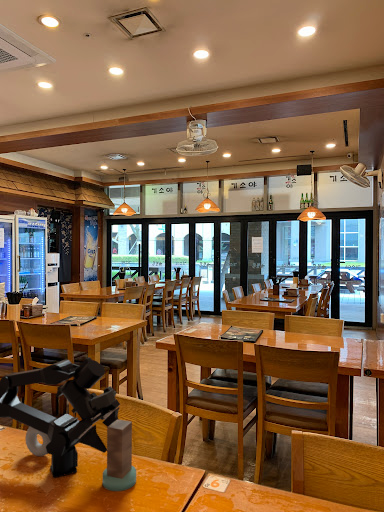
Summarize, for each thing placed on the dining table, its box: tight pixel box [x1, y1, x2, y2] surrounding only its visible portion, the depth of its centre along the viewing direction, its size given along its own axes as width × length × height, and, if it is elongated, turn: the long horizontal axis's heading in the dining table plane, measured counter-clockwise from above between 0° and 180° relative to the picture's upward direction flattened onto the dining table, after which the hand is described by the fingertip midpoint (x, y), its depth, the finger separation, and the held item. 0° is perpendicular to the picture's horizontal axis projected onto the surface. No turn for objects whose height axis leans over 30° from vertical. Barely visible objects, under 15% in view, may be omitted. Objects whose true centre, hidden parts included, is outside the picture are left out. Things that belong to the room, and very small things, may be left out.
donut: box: [24, 427, 51, 457], centre depth 119 cm, size 10×4×10 cm, turn 71°
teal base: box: [102, 465, 137, 492], centre depth 106 cm, size 9×9×2 cm
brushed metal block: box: [106, 418, 133, 479], centre depth 106 cm, size 5×5×13 cm
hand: (114, 443), depth 106 cm, fingers open, 9 cm apart
